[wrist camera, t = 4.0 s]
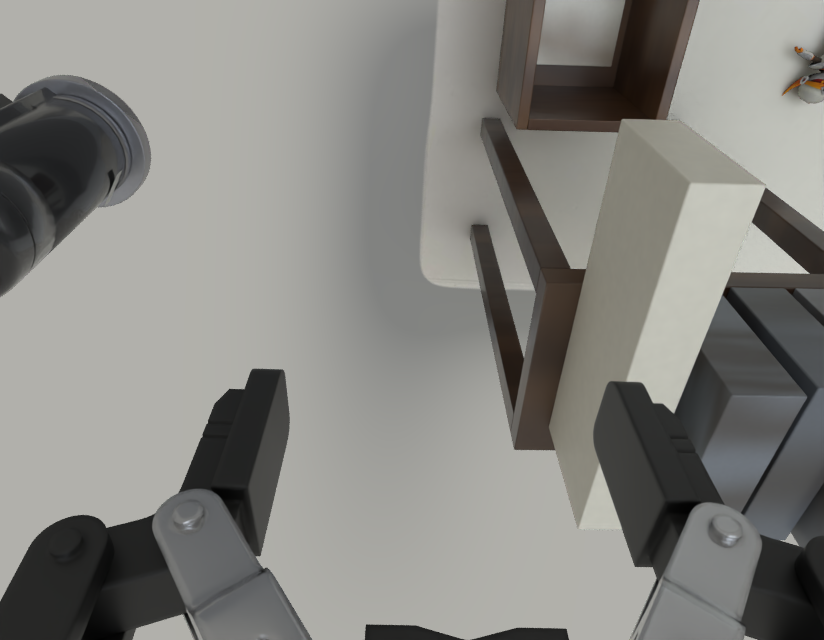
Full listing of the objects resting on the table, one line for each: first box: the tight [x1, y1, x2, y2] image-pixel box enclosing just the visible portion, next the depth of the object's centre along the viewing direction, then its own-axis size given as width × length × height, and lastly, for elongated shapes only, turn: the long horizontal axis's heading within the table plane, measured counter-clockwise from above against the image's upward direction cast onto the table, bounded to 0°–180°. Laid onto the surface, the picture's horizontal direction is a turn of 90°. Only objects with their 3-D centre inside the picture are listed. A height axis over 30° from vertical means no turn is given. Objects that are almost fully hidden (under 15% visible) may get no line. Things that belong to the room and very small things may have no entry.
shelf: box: [470, 118, 824, 548], centre depth 40 cm, size 12×18×36 cm, turn 88°
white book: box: [549, 119, 766, 530], centre depth 26 cm, size 18×2×7 cm, turn 178°
